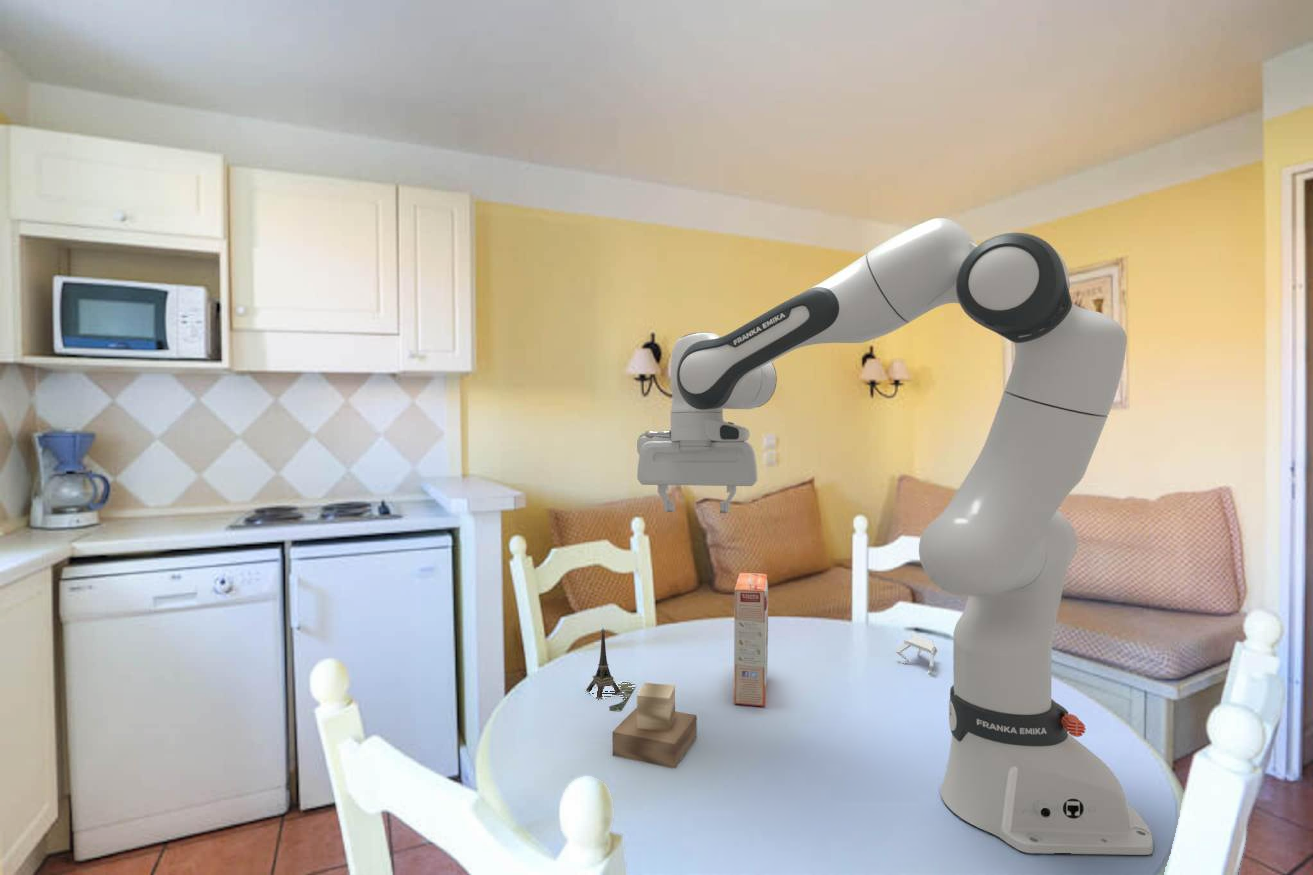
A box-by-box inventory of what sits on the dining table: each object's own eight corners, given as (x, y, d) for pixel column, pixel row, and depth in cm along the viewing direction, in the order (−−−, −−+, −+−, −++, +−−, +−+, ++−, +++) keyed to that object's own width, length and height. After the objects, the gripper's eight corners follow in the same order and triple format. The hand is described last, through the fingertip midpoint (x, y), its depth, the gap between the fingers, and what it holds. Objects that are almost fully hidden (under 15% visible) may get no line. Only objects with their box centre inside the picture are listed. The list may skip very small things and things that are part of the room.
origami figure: (887, 657, 134) (887, 634, 134) (923, 655, 135) (923, 633, 135) (919, 679, 122) (919, 654, 122) (957, 676, 124) (957, 651, 124)
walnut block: (696, 739, 99) (696, 714, 99) (674, 771, 90) (674, 743, 90) (639, 728, 103) (639, 704, 103) (612, 758, 94) (612, 731, 93)
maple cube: (675, 716, 98) (675, 685, 98) (669, 731, 93) (669, 698, 93) (644, 713, 99) (644, 682, 99) (637, 728, 94) (637, 695, 94)
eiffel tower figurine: (621, 715, 108) (621, 638, 108) (566, 710, 110) (565, 635, 110) (640, 681, 123) (640, 614, 123) (591, 678, 125) (591, 611, 125)
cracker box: (767, 708, 109) (766, 589, 109) (733, 705, 111) (732, 588, 111) (769, 677, 123) (768, 572, 123) (738, 675, 124) (738, 571, 124)
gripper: (632, 430, 104) (632, 513, 104) (755, 429, 100) (755, 516, 100) (641, 431, 110) (641, 508, 110) (758, 430, 106) (758, 511, 106)
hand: (696, 512), depth 105 cm, fingers open, 8 cm apart
